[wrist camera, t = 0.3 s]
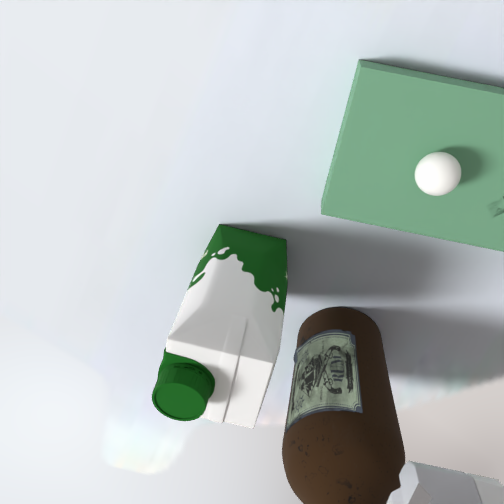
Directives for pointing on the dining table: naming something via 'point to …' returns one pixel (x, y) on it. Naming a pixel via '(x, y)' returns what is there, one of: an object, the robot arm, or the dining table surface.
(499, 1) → the dining table surface
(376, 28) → the dining table surface
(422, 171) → the golf ball
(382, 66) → the putting mat
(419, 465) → the robot arm
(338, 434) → the brown cylinder
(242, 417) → the milk carton
